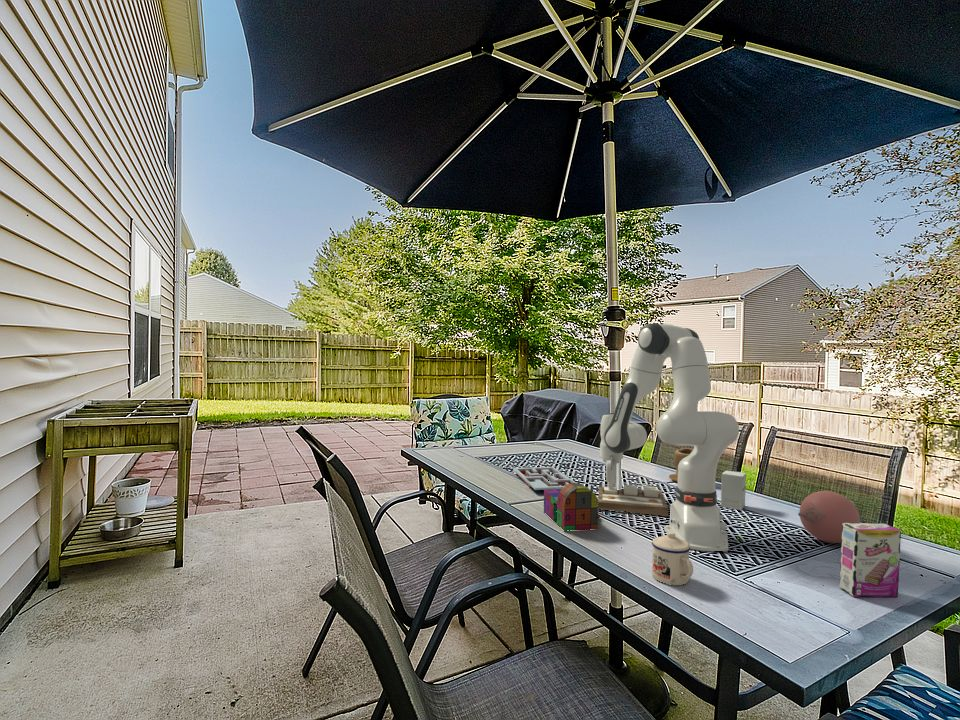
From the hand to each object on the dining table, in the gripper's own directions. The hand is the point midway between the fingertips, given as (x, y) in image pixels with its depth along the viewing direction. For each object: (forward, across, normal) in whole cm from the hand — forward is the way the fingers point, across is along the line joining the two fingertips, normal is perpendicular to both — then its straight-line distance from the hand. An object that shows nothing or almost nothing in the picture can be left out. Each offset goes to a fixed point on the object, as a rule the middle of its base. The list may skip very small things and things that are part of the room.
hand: (610, 488), depth 197 cm
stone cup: (+4, +38, -34) cm, 51 cm away
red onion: (+4, -28, -63) cm, 69 cm away
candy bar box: (+4, -63, -60) cm, 87 cm away
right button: (+2, 0, -15) cm, 15 cm away
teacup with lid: (+4, -69, -15) cm, 71 cm away
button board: (+4, -5, -8) cm, 10 cm away
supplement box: (+4, +4, -45) cm, 45 cm away
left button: (+3, 0, 0) cm, 3 cm away
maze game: (+5, +17, +28) cm, 33 cm away
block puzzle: (+4, -27, +12) cm, 30 cm away
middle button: (+2, 0, -8) cm, 8 cm away
